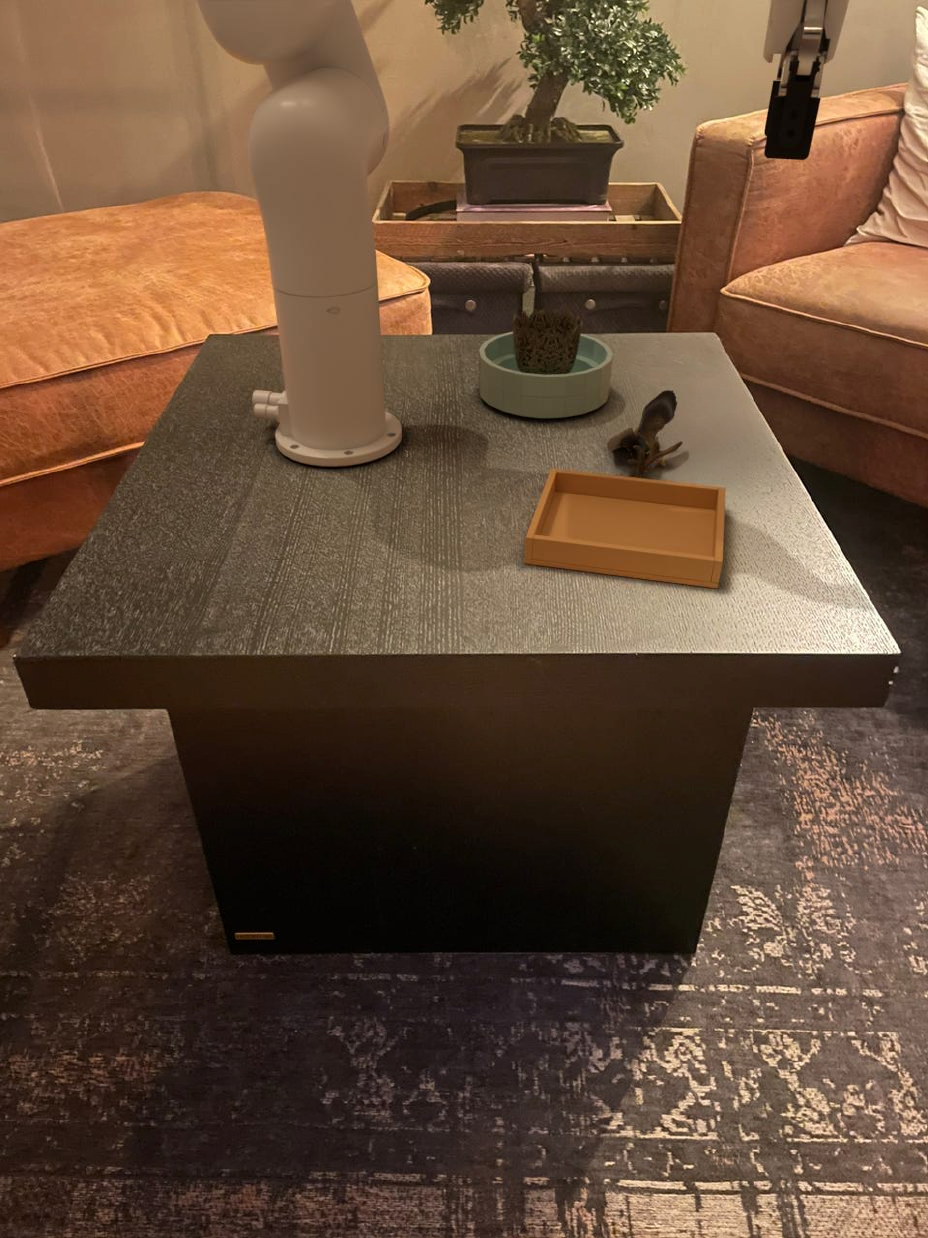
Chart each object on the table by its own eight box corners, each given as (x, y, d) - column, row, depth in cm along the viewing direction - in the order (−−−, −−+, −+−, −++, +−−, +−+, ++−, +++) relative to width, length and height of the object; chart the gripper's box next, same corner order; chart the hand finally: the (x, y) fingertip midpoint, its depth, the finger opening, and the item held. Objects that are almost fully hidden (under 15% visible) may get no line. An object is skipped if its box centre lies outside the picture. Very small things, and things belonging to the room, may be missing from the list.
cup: (505, 379, 104) (507, 308, 99) (569, 376, 104) (574, 306, 100) (515, 406, 98) (518, 331, 93) (583, 403, 98) (589, 329, 94)
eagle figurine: (701, 474, 84) (692, 417, 90) (667, 417, 80) (660, 361, 86) (625, 507, 87) (622, 449, 93) (589, 454, 83) (588, 398, 89)
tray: (524, 563, 74) (525, 536, 72) (549, 492, 83) (551, 467, 82) (717, 588, 71) (723, 561, 69) (720, 512, 80) (725, 487, 79)
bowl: (465, 415, 97) (465, 369, 94) (494, 366, 108) (495, 324, 105) (599, 428, 94) (603, 381, 92) (615, 377, 106) (619, 334, 103)
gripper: (778, -126, 70) (737, 127, 80) (782, -143, 56) (732, 165, 66) (883, -127, 68) (828, 131, 78) (913, -145, 54) (841, 170, 65)
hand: (784, 146), depth 72 cm, fingers open, 9 cm apart
